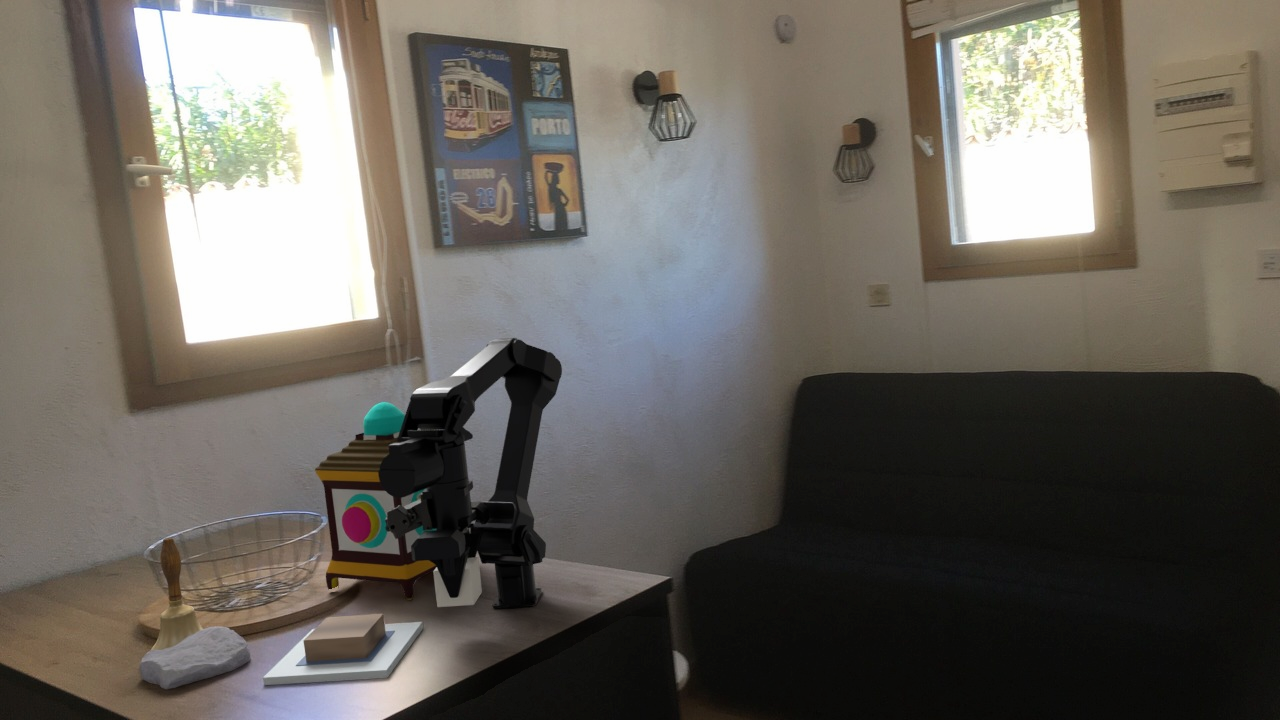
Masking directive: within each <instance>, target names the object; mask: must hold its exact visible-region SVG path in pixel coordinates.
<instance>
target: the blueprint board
mask: <svg viewBox="0 0 1280 720" xmlns="http://www.w3.org/2000/svg"><path fill="white" fill-rule="evenodd" d="M423 625H424V624H423V621H414V622H398V623H396V622H395V623H385V617H384V613H375V614H374V613H372V614H358V615H343V616H342V615H341V616H328V617H326V618H324V619H323V621H322V622H320V623H319V625H317V626H316V627H315V628H311V630H310V631H309V632H308V633H307V634H306V635H305V636H304V637H303V638H302V639H301V640H299V642H298V643H297V644H295V646H294V647H292V649H290V650H289V651H288V652H287V653H286V655H285V656H283V657H282V658H281V659H280V660H279V661H278V662H277V663H276V664H275V665H274V666H273V667H272V668H271V669H270V670H269V671H268V672H267V673H266V674H265V675H264V676H263V677H262V679H263V681H262V682H263V685H264V686H272V685H273V686H274V685H287V684H289V685H290V684H304V683H305V684H307V683H320V682H322V683H323V682H337V681H338V682H339V681H354V680H367V679H368V680H370V679H387V678H389V676H390V675H391V674H392V672H393V671H394V669H395V668H396V667H397V665H398V664H399V663H400V661H401V659H402V658H403V657H404V656H405V654H406V652H407V651H408V650H409V648H410V647H411V646H412V645H413V643H414V642H415V640H417V637H419V635H420V634H421V632H422V631H423V629H424V627H423Z"/></svg>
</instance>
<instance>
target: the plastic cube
mask: <svg viewBox="0 0 1280 720" xmlns="http://www.w3.org/2000/svg"><path fill="white" fill-rule="evenodd" d="M479 559H480V558H479V557H473V558H467V563H466V567H465V571H464V575H463V580H462V584H461V588H460V592H459V596H458V597H457V598H450V596H449V594H448V592H447V589H446V587H445V585H444V582H443V580H442V578H441V575H440V573H439V571H438V569H437V567H436V569H435V570H434V571H432V572H433V581H434V590H435V598H436V606H437V608H444V607H445V608H448V607H463V606H474V605H475V604H476V602H477V601H478V599H479V597H480V595H481V594H482V593H483V590H482V580H481V579H482V577H481V569H480V561H479Z"/></svg>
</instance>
